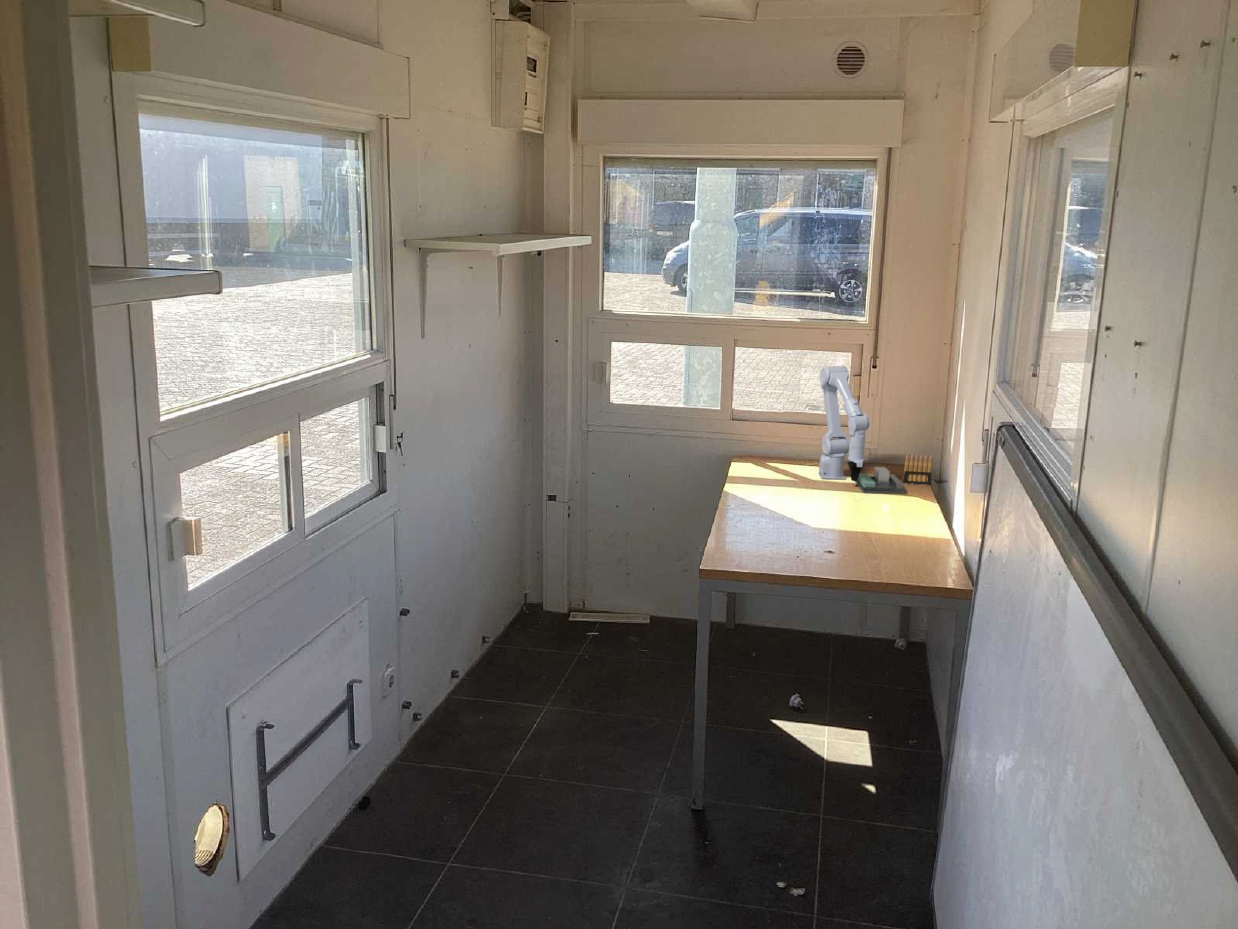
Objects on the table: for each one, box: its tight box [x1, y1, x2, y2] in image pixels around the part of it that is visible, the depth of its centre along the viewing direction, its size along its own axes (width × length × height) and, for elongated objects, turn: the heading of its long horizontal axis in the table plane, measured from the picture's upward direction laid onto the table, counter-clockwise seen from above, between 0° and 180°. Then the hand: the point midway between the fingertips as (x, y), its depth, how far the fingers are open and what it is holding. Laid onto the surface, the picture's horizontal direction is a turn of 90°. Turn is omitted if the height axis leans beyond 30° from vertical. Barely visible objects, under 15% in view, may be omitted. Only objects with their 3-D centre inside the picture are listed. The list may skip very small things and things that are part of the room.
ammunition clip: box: [902, 453, 933, 486], centre depth 422 cm, size 11×2×12 cm, turn 81°
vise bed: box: [854, 473, 907, 495], centre depth 417 cm, size 16×18×3 cm
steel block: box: [873, 466, 890, 487], centre depth 417 cm, size 4×7×6 cm, turn 0°
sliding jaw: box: [858, 473, 875, 488], centre depth 417 cm, size 4×14×2 cm, turn 0°
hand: (854, 480), depth 417 cm, fingers closed
